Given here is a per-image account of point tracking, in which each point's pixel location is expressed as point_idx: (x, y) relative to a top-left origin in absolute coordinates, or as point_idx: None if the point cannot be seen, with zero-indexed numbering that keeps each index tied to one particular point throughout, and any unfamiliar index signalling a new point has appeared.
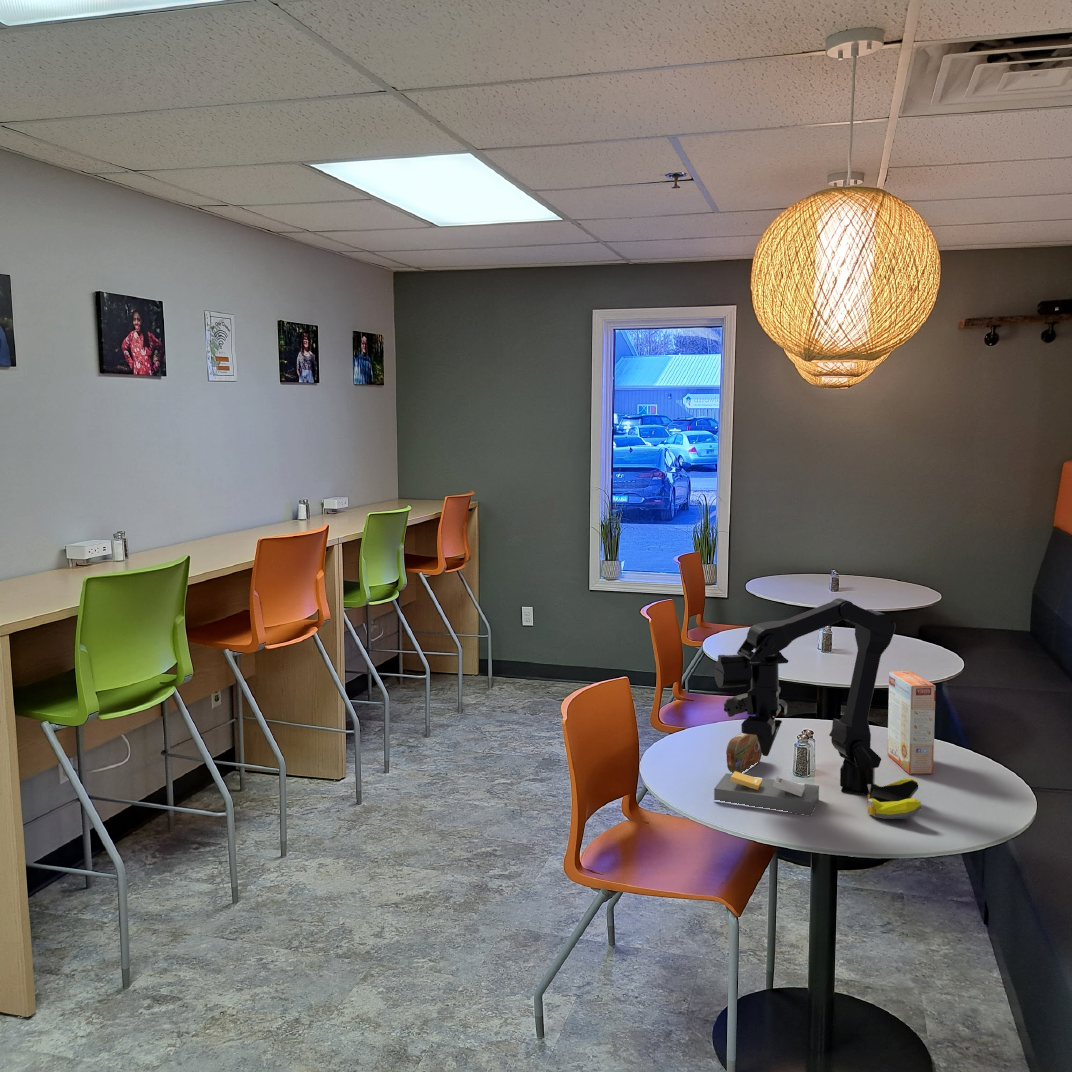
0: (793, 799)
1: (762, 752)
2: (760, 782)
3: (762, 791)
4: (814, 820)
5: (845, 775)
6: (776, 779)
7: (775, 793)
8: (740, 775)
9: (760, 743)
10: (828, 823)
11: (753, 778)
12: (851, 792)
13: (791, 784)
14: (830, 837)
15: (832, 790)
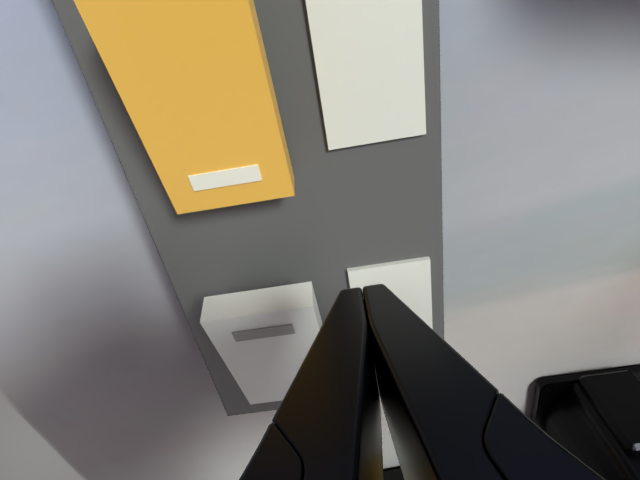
0: (207, 362)
1: (332, 314)
2: (241, 202)
3: (207, 213)
4: (211, 382)
5: (599, 437)
6: (253, 317)
7: (226, 278)
8: (194, 50)
9: (284, 415)
10: (218, 416)
11: (256, 146)
12: (534, 406)
13: (283, 366)
14: (116, 445)
15: (552, 348)
